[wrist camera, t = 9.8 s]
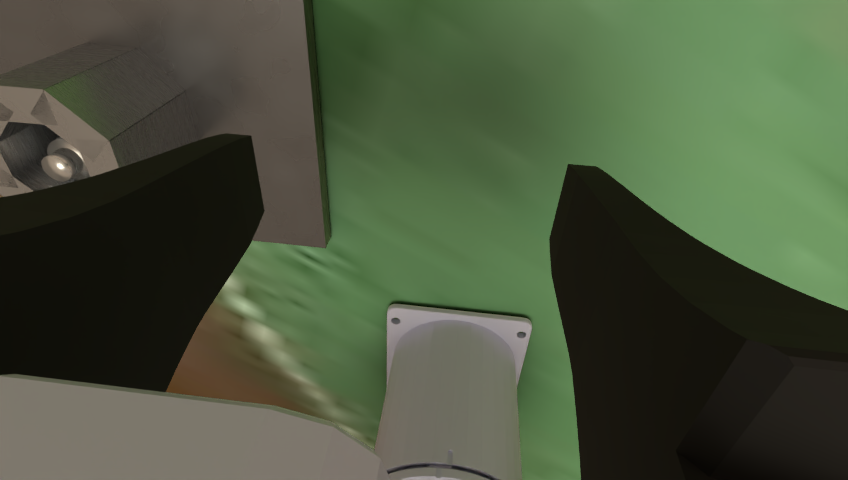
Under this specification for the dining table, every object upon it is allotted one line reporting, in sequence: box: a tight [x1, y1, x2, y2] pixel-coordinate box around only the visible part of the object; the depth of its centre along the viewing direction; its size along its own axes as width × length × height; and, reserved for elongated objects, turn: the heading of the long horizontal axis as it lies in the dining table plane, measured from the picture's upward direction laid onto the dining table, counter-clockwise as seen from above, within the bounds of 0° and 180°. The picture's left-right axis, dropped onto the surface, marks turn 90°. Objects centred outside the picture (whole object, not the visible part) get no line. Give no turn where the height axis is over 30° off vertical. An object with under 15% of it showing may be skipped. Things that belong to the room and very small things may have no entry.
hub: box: [0, 43, 198, 197], centre depth 19 cm, size 5×5×5 cm
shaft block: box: [0, 0, 331, 248], centre depth 19 cm, size 12×16×6 cm
